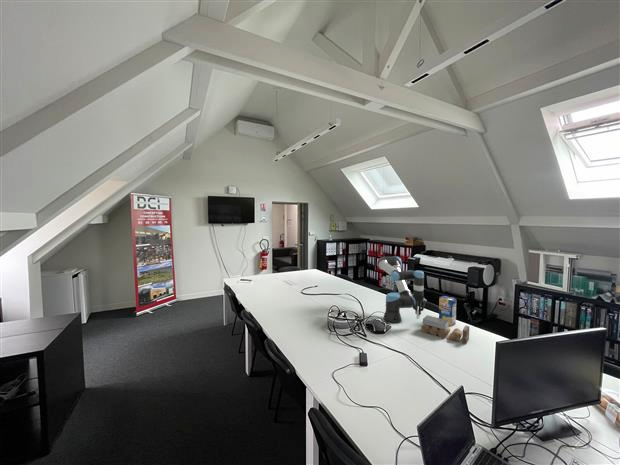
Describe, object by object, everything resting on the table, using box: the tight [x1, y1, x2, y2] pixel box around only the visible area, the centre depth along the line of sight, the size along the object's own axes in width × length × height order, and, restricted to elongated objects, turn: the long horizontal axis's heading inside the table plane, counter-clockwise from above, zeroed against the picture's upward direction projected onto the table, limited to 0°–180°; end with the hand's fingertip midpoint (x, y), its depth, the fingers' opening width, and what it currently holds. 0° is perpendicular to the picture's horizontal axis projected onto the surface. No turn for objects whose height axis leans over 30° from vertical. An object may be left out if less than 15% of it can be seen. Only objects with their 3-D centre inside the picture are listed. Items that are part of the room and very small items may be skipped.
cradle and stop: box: [446, 325, 470, 345], centre depth 185 cm, size 12×10×10 cm
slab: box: [422, 315, 449, 330], centre depth 195 cm, size 16×10×4 cm, turn 48°
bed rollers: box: [421, 324, 451, 339], centre depth 196 cm, size 11×18×6 cm, turn 48°
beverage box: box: [438, 295, 457, 327], centre depth 213 cm, size 7×11×22 cm, turn 36°
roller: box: [449, 328, 463, 343], centre depth 186 cm, size 11×6×6 cm
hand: (418, 318), depth 204 cm, fingers closed
